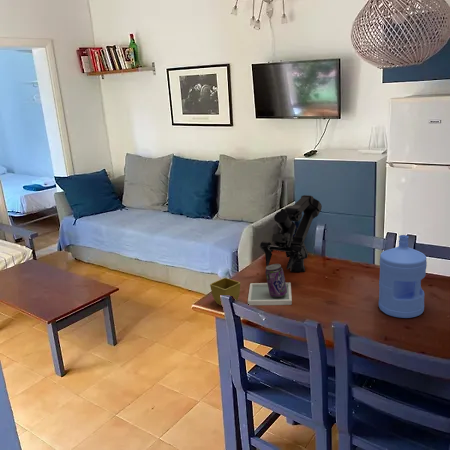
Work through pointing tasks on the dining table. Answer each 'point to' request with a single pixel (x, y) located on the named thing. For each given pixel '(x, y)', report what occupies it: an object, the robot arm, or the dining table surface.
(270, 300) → the tray
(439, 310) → the dining table surface
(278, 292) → the beverage can
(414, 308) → the water jug
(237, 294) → the flower pot
